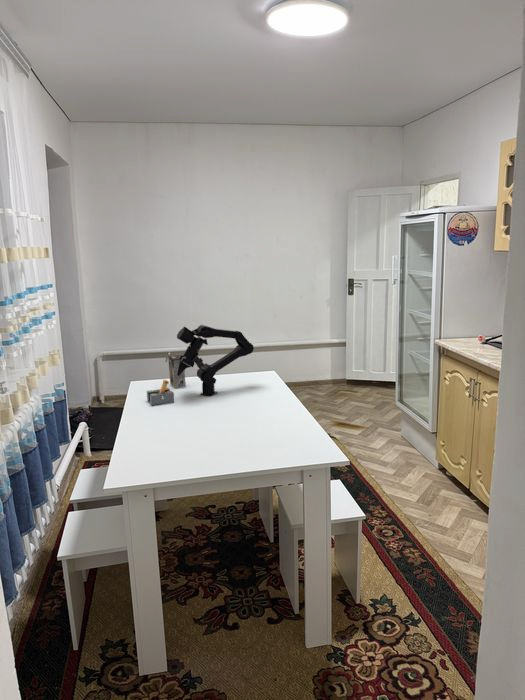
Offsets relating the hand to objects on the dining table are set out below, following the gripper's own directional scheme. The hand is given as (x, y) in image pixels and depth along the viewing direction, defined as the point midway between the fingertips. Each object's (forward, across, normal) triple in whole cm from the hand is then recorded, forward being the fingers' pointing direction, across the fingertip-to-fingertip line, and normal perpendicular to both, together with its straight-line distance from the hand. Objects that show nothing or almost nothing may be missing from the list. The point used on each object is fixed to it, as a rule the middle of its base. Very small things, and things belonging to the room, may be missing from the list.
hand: (177, 375), depth 259 cm
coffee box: (+7, +25, -6) cm, 27 cm away
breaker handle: (+13, -1, +2) cm, 13 cm away
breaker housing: (+15, 0, +1) cm, 15 cm away
